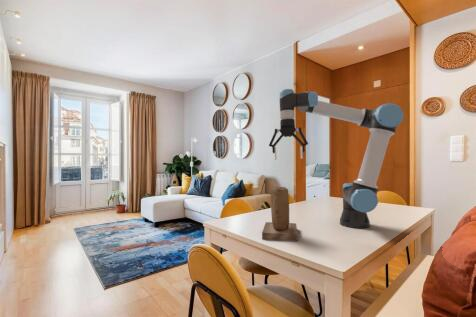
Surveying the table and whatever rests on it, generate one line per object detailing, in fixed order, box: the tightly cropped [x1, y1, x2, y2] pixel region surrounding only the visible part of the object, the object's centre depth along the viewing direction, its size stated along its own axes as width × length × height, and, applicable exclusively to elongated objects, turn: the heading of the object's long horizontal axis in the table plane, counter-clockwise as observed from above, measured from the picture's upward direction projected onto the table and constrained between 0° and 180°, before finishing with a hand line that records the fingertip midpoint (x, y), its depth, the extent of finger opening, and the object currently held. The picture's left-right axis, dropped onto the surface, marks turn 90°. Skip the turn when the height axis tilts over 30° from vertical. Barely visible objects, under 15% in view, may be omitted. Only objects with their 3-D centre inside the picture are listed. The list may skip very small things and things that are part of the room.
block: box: [270, 186, 290, 230], centre depth 123 cm, size 11×8×20 cm
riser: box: [261, 221, 298, 242], centre depth 123 cm, size 16×19×3 cm
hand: (288, 159), depth 131 cm, fingers open, 13 cm apart
